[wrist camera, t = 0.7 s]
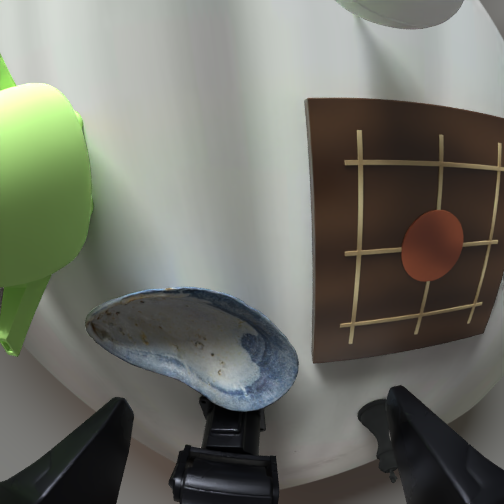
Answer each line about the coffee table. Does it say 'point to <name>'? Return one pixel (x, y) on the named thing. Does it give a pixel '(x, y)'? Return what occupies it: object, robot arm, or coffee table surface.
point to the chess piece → (380, 434)
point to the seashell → (199, 343)
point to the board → (402, 224)
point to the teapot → (38, 197)
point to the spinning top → (403, 11)
